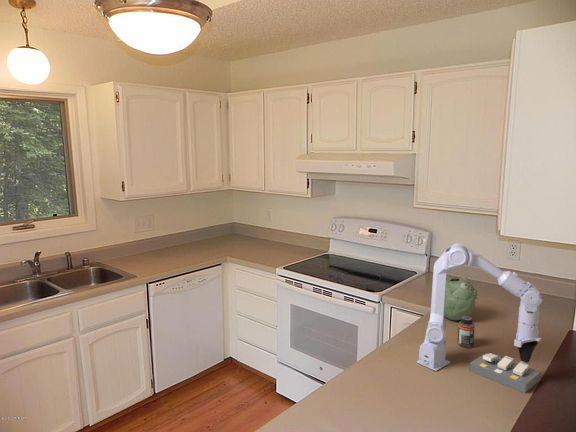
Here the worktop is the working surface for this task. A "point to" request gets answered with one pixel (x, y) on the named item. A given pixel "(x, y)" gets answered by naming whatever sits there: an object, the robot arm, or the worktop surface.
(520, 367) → the rocker
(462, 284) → the cabbage
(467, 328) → the supplement bottle
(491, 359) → the rocker
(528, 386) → the switch box
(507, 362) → the rocker
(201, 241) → the worktop surface
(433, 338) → the robot arm
